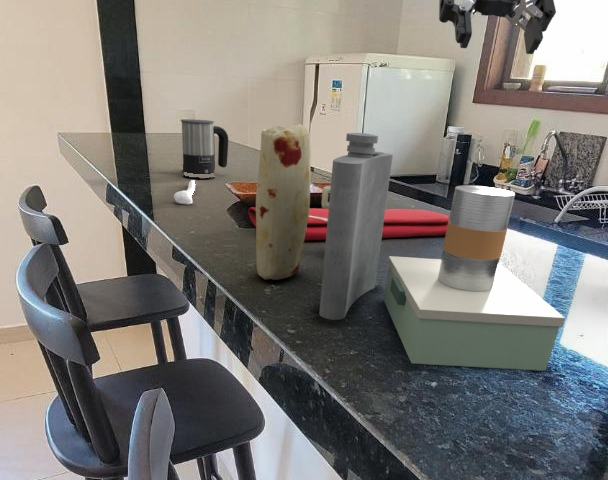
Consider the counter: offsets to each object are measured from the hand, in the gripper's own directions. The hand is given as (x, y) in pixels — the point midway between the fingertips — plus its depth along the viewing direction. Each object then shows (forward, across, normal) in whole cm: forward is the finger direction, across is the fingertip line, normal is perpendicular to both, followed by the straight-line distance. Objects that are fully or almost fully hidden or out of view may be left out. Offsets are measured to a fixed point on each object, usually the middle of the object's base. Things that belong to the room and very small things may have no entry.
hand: (500, 45), depth 66 cm
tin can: (+31, -5, +4) cm, 32 cm away
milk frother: (-39, -52, +83) cm, 105 cm away
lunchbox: (+36, -5, +8) cm, 37 cm away
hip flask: (+29, -17, +14) cm, 37 cm away
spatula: (-18, -49, +61) cm, 81 cm away
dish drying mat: (+1, -11, +43) cm, 44 cm away
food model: (+24, -26, +20) cm, 40 cm away
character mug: (+15, -15, +28) cm, 36 cm away
